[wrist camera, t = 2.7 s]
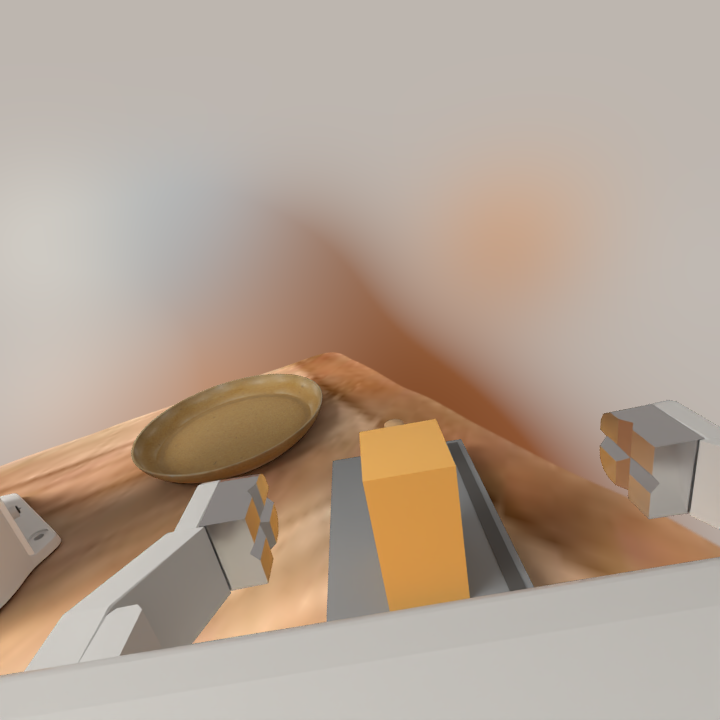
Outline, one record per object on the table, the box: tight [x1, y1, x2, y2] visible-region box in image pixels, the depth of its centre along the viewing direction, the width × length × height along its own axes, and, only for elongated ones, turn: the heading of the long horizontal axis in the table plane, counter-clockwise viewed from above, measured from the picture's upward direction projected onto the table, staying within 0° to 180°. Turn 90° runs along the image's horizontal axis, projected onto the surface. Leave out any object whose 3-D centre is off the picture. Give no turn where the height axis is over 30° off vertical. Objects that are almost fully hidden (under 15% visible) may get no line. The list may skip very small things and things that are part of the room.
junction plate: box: [327, 419, 534, 622], centre depth 32 cm, size 19×13×8 cm
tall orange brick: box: [359, 419, 470, 611], centre depth 26 cm, size 5×5×10 cm
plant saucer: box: [131, 374, 322, 483], centre depth 54 cm, size 24×24×3 cm
